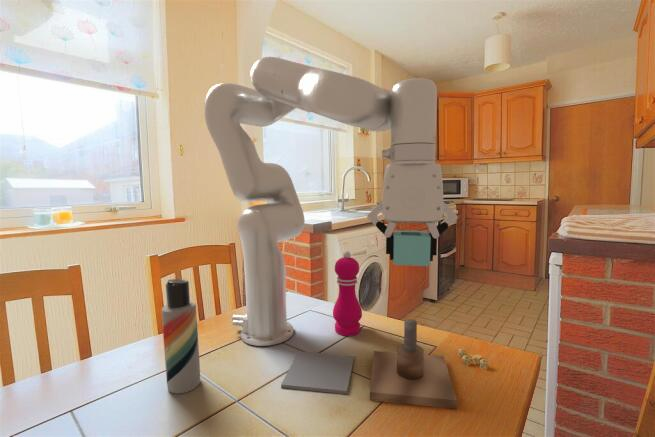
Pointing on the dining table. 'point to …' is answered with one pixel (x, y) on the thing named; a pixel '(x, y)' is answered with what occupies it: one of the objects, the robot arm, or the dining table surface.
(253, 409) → the dining table surface
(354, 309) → the pepper mill
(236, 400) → the dining table surface
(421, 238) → the collar
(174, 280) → the lotion bottle
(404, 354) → the stand
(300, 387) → the mat
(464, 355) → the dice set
